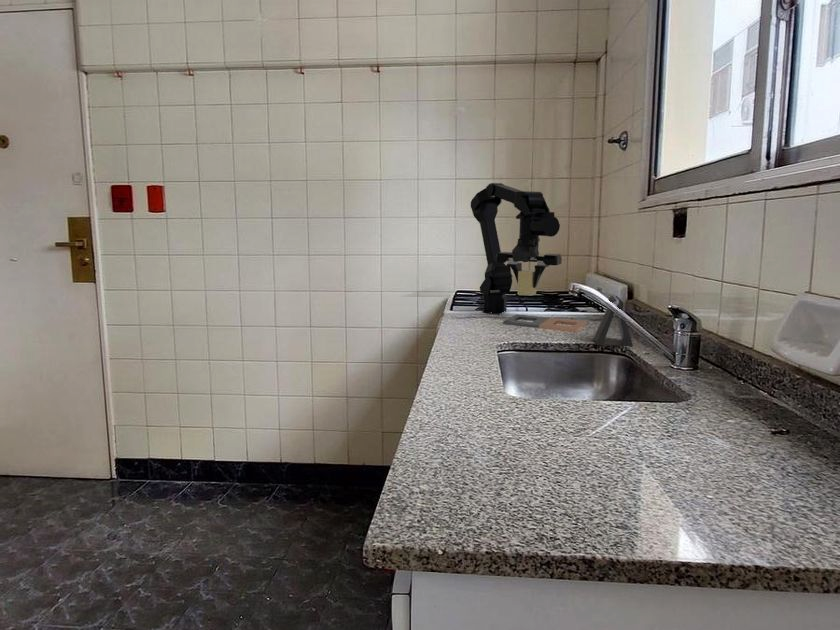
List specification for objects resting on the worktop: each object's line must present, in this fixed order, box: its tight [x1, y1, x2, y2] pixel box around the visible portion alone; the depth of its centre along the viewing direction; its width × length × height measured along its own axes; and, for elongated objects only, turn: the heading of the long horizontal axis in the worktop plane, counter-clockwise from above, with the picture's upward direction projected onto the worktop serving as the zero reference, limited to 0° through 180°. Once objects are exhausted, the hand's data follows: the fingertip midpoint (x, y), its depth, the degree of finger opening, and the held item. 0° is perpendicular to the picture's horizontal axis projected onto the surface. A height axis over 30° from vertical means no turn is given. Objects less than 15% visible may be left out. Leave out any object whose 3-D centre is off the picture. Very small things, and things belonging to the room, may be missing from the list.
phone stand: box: [593, 295, 634, 348], centre depth 144 cm, size 9×6×12 cm, turn 78°
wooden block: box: [517, 269, 537, 297], centre depth 168 cm, size 4×4×7 cm
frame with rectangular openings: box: [502, 314, 588, 333], centre depth 167 cm, size 22×12×1 cm, turn 61°
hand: (527, 287), depth 168 cm, fingers closed on wooden block, 4 cm apart
